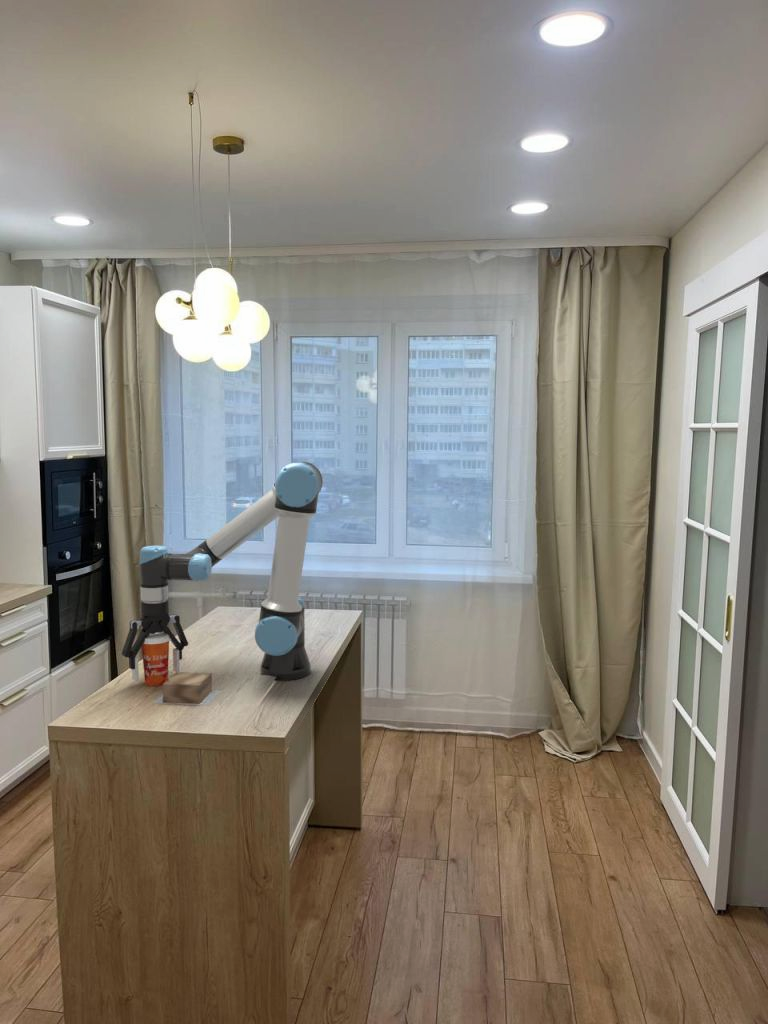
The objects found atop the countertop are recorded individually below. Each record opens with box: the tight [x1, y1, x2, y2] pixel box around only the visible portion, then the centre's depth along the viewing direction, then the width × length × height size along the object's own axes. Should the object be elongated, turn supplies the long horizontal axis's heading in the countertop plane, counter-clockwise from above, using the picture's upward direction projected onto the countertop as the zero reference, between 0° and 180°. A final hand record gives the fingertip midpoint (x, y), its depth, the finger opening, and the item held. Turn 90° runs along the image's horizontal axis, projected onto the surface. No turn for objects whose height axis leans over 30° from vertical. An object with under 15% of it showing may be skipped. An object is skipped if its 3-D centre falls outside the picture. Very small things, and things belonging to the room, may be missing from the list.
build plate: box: [152, 689, 222, 706], centre depth 197 cm, size 15×11×1 cm
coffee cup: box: [141, 631, 171, 687], centre depth 208 cm, size 8×8×15 cm
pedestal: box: [162, 671, 213, 704], centre depth 197 cm, size 10×10×5 cm
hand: (156, 675), depth 208 cm, fingers open, 11 cm apart
